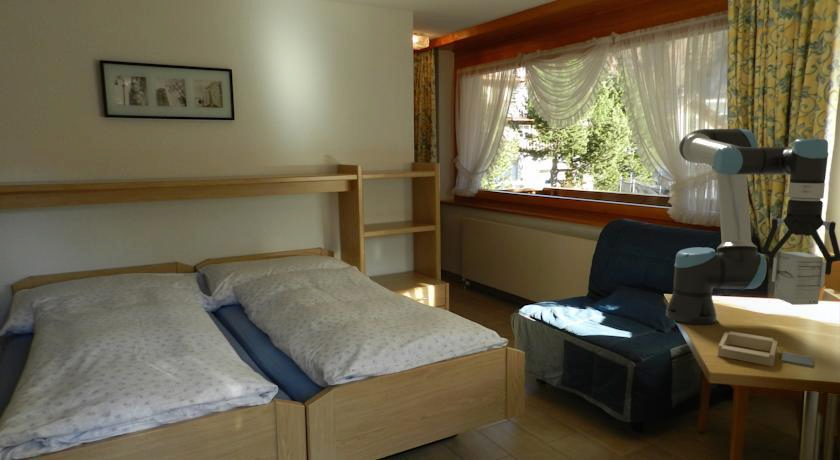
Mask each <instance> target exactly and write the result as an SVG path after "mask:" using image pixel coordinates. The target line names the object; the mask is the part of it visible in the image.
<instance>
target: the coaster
mask: <svg viewBox="0 0 840 460" xmlns="http://www.w3.org/2000/svg"><path fill="white" fill-rule="evenodd" d="M780 361H781V362H782V363H788V364H793V365H796V366H797V365H798V366H803V367H809V368H813V367H814V357H813V356H807V355H803V354H797V353H791V352H785V351H782V354H781V358H780Z"/></svg>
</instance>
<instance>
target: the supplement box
mask: <svg viewBox="0 0 840 460" xmlns="http://www.w3.org/2000/svg"><path fill="white" fill-rule="evenodd" d="M777 256H778V259H777V270H776V281H775V282H774V293H773V298H774V299H778V300H781V301H783V302H785V303H788V304H790V305H795V306H799V305H804V306H805V305H819V302H820V301H819V299H820V290H821V289H820V288H821V287H820V283H821V273H822V263H823V261H824V256H823V257H822V256H818V255H815V254H812V253H808V252H803V251H781V252H779V251H778V252H777Z"/></svg>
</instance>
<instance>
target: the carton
mask: <svg viewBox="0 0 840 460" xmlns="http://www.w3.org/2000/svg"><path fill="white" fill-rule="evenodd" d="M730 345H731V346H730ZM737 346H738V347H737ZM742 347H743V348H742ZM777 347H778V341H777V340H775V339H774V338H773V337H768V336H761V335H757V334H750V333H749V334H748V333H743V332H737V331H729V332H726V331H725V332H724V334H723V335H722V338H721V339H720V341H719V344H718V347H717V348H718V349H717V357H723V358H727V359H732V360H733V359H734V360H737V361H738V360H739V361H744V362H748V363H749V362H750V363H754V364H760V365H763V366H764V365H765V366H770V367H774V364H775V361H776V355H777V349H778V348H777ZM747 348H750V349H747ZM754 349H755V350H754ZM759 350H760V351H759ZM764 351H766V352H764Z"/></svg>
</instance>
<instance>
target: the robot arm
mask: <svg viewBox="0 0 840 460" xmlns="http://www.w3.org/2000/svg"><path fill="white" fill-rule="evenodd" d="M828 148H829V142H828V140H827V139H825V138H798V139H795V140H794V141H793V143H792V146H787V145H786V146H759V143H758V140H757V137H756V135H755V134H754V133H753V132H752V131H751V130H749V129H746V128H745V129H743V128H737V127H735V128H703V129H700V128H699V129H697V130H693V131H690V132H689V133H687V134H686V135H685V136H683V137H682V139H681V141H680V143H679V147H678V150H679V154H680V156H681V157H682V158H683V159H684V160H685V161H687V162H690V163H691V164H692V163H693V164H705V165H708V166H711V168H712V169H711V170H712V172H714V173H715V174H717V186H718V187H717V188H718V203H719V204H718V205H719V220H720V221H719V222H720V232H721V233H720V235H721V236H720V238H721V243H720V244H719V245H718V246H717V248H716V250H715V249H714V248H711V247H699V246H697V247H688V248H684V249H683V248H682V249H681V250H679V251H678V252H676V255H675V260H674V261H675V262H674V274H673V275H674V276H673V290H672V296H671V297H670V299H669V301H668V304H667V307H666V310H665V317H666V318H668V319H670V320H673V321H675V322H679V323H682V324H689V325H701V326H702V325H703V326H704V325H711V324H714V323H716V322H717V312H716V307H715V305H714V300H713V289H730V290H731V289H732V290H733V289H736V290H746V289H747V290H748V289H751V290H752V289H757V288H759V286H761V285H762V284H763V282H764V280H765V278H766V275H767V271H768V269H772V273H771V282H772V283H775V281H776V270H777V259H778V255H777V256H776V254H778V252H779V251H780V249H781V248H782V247H784V245H785V243H787V241H788V240H789V238H790V237H791V236H792V235H795V236H801V235H802V236H805V237H807V236H808V237H809V236H811V237H812V239H813V240H814V242H815V244H816V246H817V247H818V249H819V251H820V252H821V254H822V256H823V259H825V260H823V263H822V272H821V282H820V288H823V289H824V288H825V280H826V275H831V273H832V266H833V265H832V264H833V263H835V262H839V261H840V247H839V242H838V239H837V235H836V225H837V222H835V221H826V220H823V218H822V215H823V206H824V202H823V200H822V199H823V198H824V196H825V186H826V183H825V181H826V174H827V165H828V160H829V159H828V157H829V149H828ZM748 175H773V176H774V175H776V176H777V175H779V176H780V175H783V176H785V175H788V176H789V185H788V195H787V196H788V198H790V199H788V201H787V209H786V216H785V217H784V218H778V217H774V218H773V219H772V220H771V229H770V231H769V233H768V236H767V238H766V240H765V242H764V245H763V247H762V249H761V253H760V252H758V246H757V245H755V244H754V242H752V233H751V216H750V202H749V189H748ZM782 224H784V225H785V226H786V227H787V229H788V230H787V231H786V232H785V234H784V235H783V236H782V237H781V239H780V240H779V241H778V242H777V243H776V245H775V246H774V247H773V248H772V250H770V246H771V244H772V243H773V240H774V238H775V235H776V232H777V231H778V228H779V227H781V226H782ZM822 226H824V228H825V230H826V231H828V236H829V240H830V244H831V248H832V251H833V255H832V256H831V254H830V252H829V250H828V248H827V246H825V243H824V242H823V240H822V238H821V236H820V234H819V232H818V230H819V229H821V227H822ZM765 255H766V256H767V257H768V262H767V259H766V257H765ZM767 263H768V264H767ZM767 268H768V269H767Z"/></svg>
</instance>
